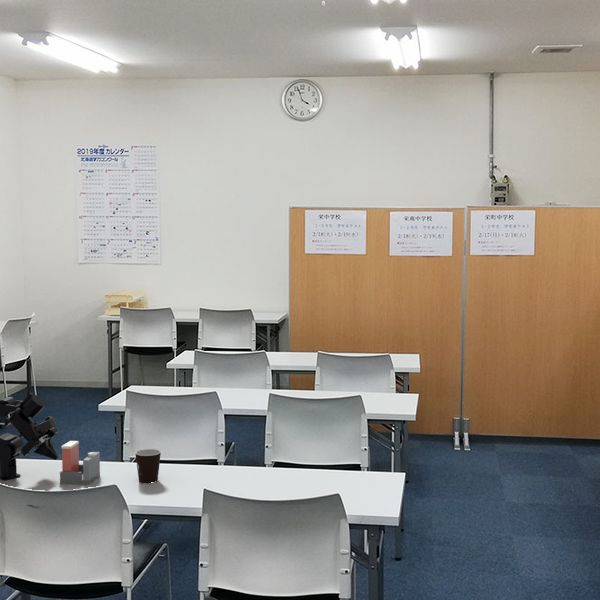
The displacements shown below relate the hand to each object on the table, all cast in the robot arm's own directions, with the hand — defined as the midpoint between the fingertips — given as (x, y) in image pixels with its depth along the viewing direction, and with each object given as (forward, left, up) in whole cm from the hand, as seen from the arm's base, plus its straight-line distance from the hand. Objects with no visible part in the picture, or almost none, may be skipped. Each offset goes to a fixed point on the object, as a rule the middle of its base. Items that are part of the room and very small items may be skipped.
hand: (56, 458), depth 265 cm
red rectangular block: (+4, +3, -5) cm, 7 cm away
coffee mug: (+25, +20, -7) cm, 33 cm away
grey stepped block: (+7, +4, -7) cm, 11 cm away
